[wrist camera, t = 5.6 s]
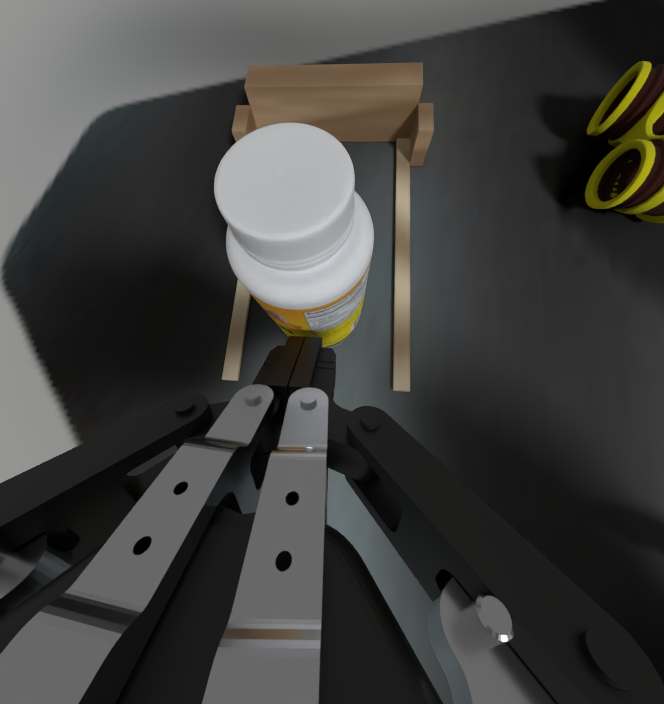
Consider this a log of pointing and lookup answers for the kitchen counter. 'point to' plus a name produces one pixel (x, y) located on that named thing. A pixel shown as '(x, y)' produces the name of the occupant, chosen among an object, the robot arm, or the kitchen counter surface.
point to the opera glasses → (631, 146)
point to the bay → (346, 126)
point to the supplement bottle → (297, 229)
